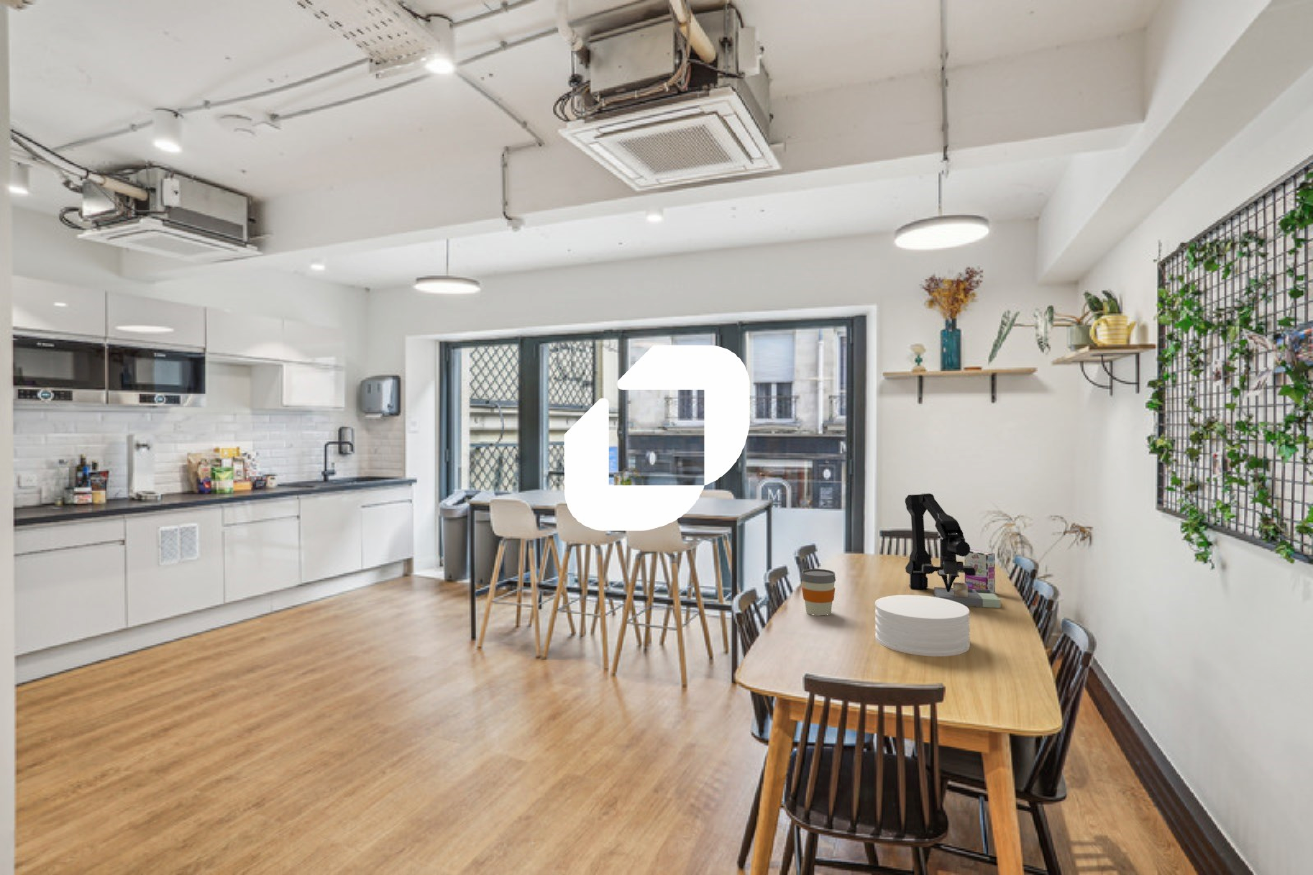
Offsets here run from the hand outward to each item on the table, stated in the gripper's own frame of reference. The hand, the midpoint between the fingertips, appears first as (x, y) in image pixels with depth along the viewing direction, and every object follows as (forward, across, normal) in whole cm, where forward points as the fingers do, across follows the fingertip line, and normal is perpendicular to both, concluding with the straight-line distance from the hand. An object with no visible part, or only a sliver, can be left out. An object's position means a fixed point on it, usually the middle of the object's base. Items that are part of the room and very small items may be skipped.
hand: (948, 591), depth 256 cm
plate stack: (+5, -15, -52) cm, 54 cm away
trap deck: (+4, +7, +4) cm, 9 cm away
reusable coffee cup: (+5, -48, -26) cm, 55 cm away
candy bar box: (+4, +15, +22) cm, 27 cm away
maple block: (+1, +4, 0) cm, 4 cm away
